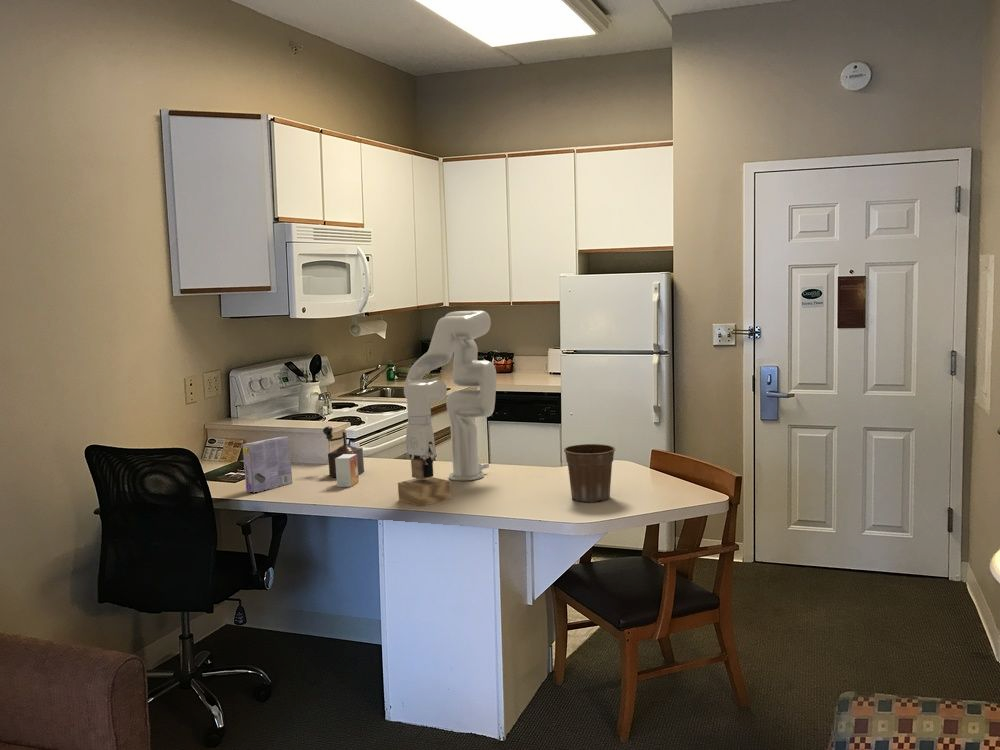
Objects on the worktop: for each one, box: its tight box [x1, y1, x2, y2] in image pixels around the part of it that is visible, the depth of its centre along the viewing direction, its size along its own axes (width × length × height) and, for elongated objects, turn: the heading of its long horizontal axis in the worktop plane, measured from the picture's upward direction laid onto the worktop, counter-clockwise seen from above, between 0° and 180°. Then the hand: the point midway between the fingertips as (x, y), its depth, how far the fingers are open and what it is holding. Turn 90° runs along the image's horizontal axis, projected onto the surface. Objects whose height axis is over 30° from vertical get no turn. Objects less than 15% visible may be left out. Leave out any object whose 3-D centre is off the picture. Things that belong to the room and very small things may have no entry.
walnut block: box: [410, 456, 434, 479], centre depth 298 cm, size 5×5×6 cm
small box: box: [335, 454, 360, 488], centre depth 327 cm, size 8×6×10 cm
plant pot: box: [563, 443, 616, 503], centre depth 290 cm, size 16×16×16 cm
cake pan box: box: [242, 436, 293, 494], centre depth 328 cm, size 19×5×18 cm, turn 145°
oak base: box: [397, 476, 451, 507], centre depth 299 cm, size 12×12×6 cm
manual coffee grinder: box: [322, 426, 365, 478], centre depth 345 cm, size 16×11×18 cm
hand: (422, 474), depth 299 cm, fingers closed on walnut block, 5 cm apart
